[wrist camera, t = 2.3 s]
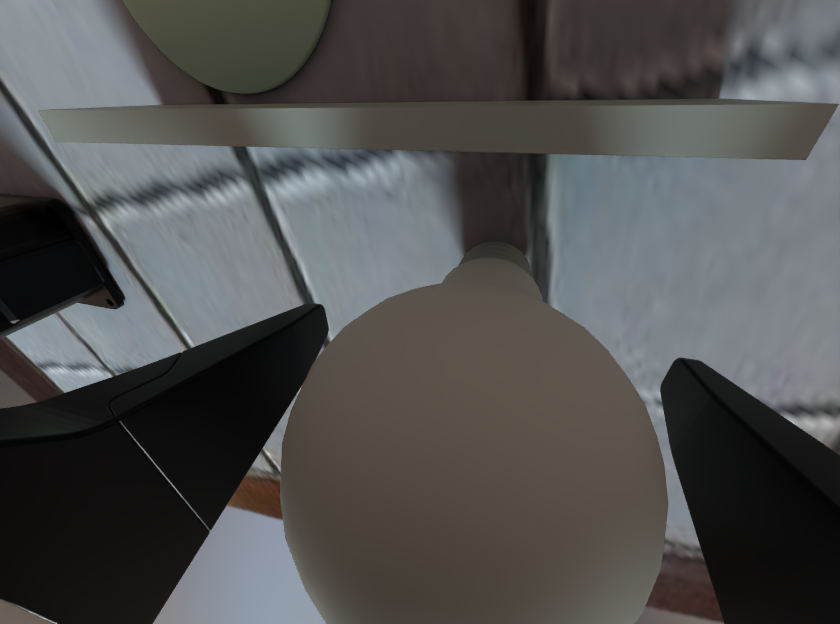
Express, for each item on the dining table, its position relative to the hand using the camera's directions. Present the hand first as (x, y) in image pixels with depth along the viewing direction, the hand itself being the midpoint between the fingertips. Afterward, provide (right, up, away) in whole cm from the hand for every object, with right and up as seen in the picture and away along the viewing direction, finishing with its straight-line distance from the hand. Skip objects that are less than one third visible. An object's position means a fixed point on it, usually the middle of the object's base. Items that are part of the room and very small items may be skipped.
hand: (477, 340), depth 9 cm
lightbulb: (+1, +3, +4) cm, 5 cm away
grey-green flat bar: (-3, +7, +2) cm, 8 cm away
